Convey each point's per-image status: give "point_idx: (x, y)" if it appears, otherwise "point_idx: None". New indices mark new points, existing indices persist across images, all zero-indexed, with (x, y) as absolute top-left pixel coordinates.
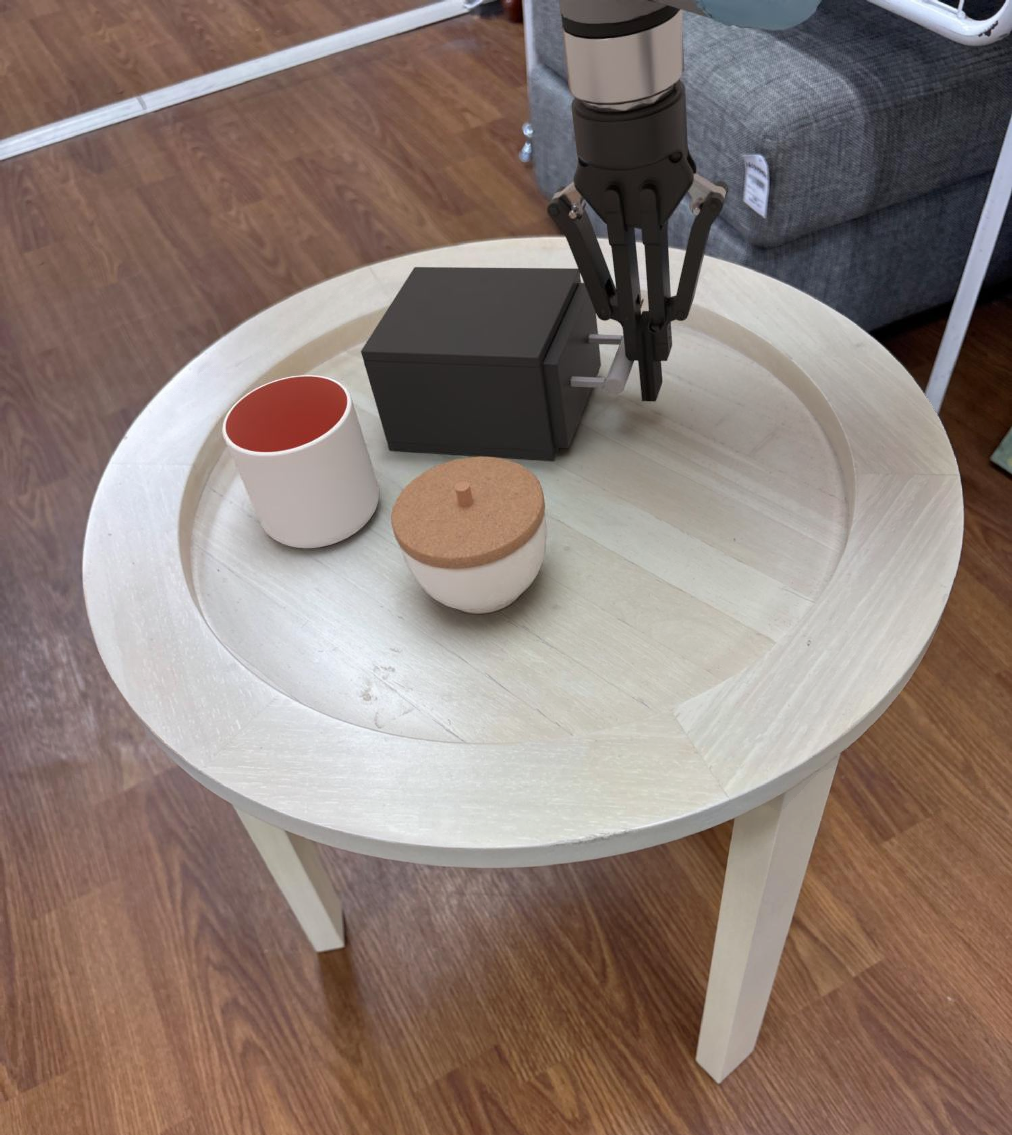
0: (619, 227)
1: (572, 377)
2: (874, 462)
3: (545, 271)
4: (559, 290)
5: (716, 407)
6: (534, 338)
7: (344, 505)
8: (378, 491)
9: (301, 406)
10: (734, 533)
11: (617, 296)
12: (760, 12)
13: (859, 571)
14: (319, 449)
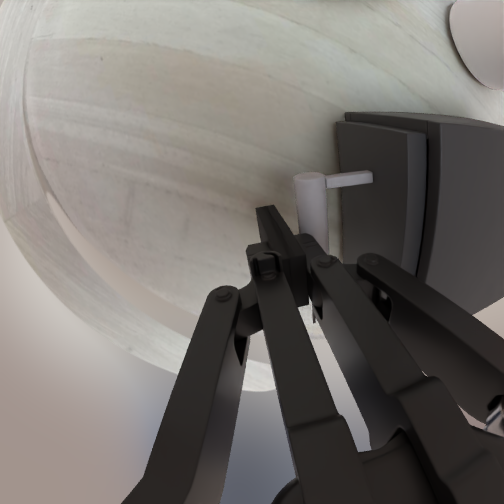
0: (431, 433)
1: (371, 179)
2: (40, 216)
3: None
4: None
5: (200, 247)
6: (454, 177)
7: (470, 3)
8: (461, 46)
9: None
10: (103, 66)
11: (361, 288)
12: None
13: (11, 87)
14: None
